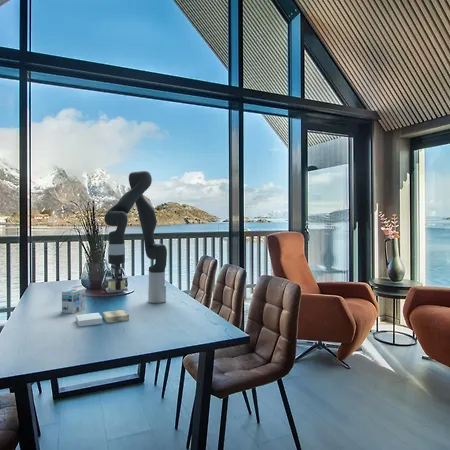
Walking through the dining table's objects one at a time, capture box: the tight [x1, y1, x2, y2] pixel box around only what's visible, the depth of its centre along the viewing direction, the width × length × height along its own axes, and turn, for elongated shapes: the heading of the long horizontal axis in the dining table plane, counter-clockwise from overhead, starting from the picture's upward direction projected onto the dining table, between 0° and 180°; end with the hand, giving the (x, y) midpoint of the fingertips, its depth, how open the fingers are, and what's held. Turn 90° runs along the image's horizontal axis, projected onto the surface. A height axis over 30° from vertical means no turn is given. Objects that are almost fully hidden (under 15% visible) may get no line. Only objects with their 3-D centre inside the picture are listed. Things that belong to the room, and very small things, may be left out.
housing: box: [105, 275, 128, 294], centre depth 168 cm, size 9×6×6 cm, turn 119°
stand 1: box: [75, 312, 103, 327], centre depth 163 cm, size 10×10×2 cm
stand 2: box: [102, 309, 130, 324], centre depth 169 cm, size 10×10×2 cm
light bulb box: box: [61, 287, 86, 314], centre depth 182 cm, size 11×7×11 cm, turn 168°
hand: (116, 288), depth 168 cm, fingers closed on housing, 5 cm apart
